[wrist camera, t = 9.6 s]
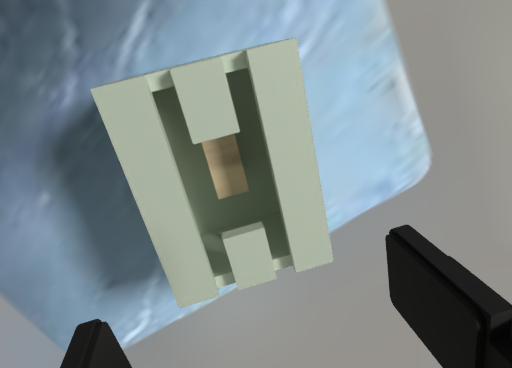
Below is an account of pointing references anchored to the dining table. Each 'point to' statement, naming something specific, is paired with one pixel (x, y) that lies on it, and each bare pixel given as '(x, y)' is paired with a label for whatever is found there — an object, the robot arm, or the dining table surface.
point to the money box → (199, 176)
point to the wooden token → (225, 166)
